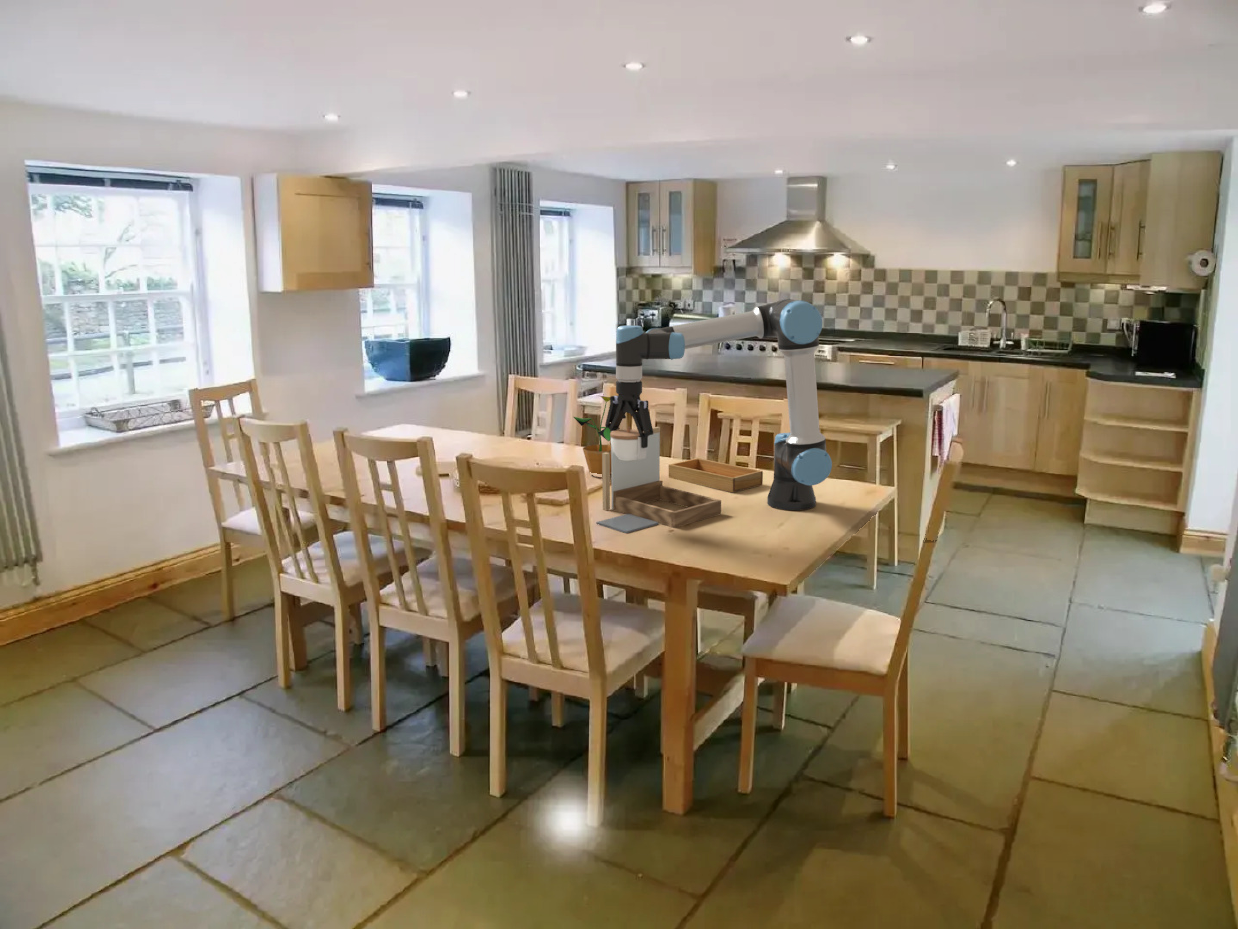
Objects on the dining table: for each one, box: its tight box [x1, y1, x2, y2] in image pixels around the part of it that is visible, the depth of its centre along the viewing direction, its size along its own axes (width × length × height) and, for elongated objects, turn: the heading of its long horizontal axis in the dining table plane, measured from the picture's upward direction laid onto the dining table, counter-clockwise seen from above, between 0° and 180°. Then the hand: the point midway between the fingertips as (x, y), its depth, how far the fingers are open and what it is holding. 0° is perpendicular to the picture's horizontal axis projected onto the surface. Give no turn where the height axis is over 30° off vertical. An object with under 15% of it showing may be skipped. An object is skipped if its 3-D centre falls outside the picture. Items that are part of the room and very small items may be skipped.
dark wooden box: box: [612, 480, 722, 529], centre depth 285 cm, size 26×20×6 cm
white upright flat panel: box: [601, 426, 661, 511], centre depth 293 cm, size 3×22×24 cm, turn 133°
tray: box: [668, 458, 764, 493], centre depth 323 cm, size 31×15×6 cm, turn 41°
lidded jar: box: [610, 426, 644, 461], centre depth 269 cm, size 11×11×9 cm
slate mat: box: [596, 513, 659, 534], centre depth 274 cm, size 13×13×1 cm
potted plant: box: [573, 395, 627, 474], centre depth 331 cm, size 18×19×30 cm
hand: (628, 455), depth 270 cm, fingers closed on lidded jar, 11 cm apart
